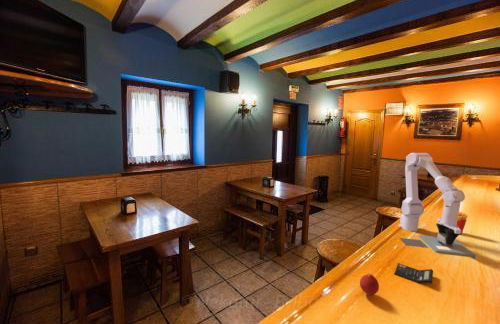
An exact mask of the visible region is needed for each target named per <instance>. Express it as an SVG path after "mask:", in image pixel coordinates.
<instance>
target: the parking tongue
mask: <svg viewBox="0 0 500 324" xmlns="http://www.w3.org/2000/svg"><path fill="white" fill-rule="evenodd" d="M398 239H399V240H400V241H401V242H402V243H403V244H404V245H405V246H409V247H419V248H424V249H426V248H427V249H429V246H428V245H427V244H426V243H425V242H424V241H423V240H421V239H415V238H404V237H398Z"/></svg>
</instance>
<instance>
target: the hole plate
mask: <svg viewBox="0 0 500 324" xmlns="http://www.w3.org/2000/svg"><path fill="white" fill-rule="evenodd" d="M418 238H419V240H421V241H422V242H423V243H424V244H425V245H426V246H427V247H428V248H430V249H431V250H432V251H434V252H435V253H438V254H447V255H456V256H463V257H470V258H471V259H474V260H475V259H476V257H477V254H476V253H474V252H473V251H471V250H470V249H469V248H467V247H466V246H464V245H463V244H462V243H460V242H459V241H457V240H456V241H455V244H452V245H450V244H449V246H443V245H442V244H441V243H442V242H441V241H440V240H439V239H437V236H431V235H424V234H419V235H418Z"/></svg>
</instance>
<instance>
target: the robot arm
mask: <svg viewBox="0 0 500 324" xmlns="http://www.w3.org/2000/svg"><path fill="white" fill-rule="evenodd" d="M433 159H434V158H433V157H432V156H431V155H430V154H429V153H427V152H411V153H409V154H408V155H406V157H405V161H406V162H405V167H404V168H405V169H404V170H405V172H404V173H405V174H404V176H405V194H406V197H405V199H404V200H403V201H402V204H401V205H402V206H401V212H402V214H401V215H400V220H399V221H400V223H399V224H398V225H397V226H398V227H400V228H402V229H403V230H405V231H408V232H412V233H414V232H417V231H418V230H419V229H418V228H419V221H420V217H421V216H422V215H423V214H424V212H425V208H424V206H423V201H422V200H420V198H419V185H418V170H419V169H420V168H421V167H422V168H425V170H426V171H427V172H428V173H429V174H430V176H431V177H433V179H434V184H435V186H436V187H437V188H438V189H439V191H440V192H441V194H442V196H441V197H442V200H443V209H442V215H441V217H437V220H436V221H437V222H438V223H437V222H436V223H435V225H436V227H437V230H438V233H446V244H450V245H452V244H453V242H454V240H455V239H457V238H458V237H459V236H461V235H462V234H461V230H460V229H459V227H458V226H457V220H458V214H459V212H460V207H461V203H462V202H463V201H464V200H465V198H466V197H465V193H464V191H463V190H462V189H461V190H460V189H459V188H457V186H455V185H454V184H453V183H452V181H451V179H450V177H447V176H444V175H443V174H442V173H441V171H440V170H439V169H438V167H437V166H436V164H435V163H434V160H433ZM449 229H450V230H449ZM460 234H461V235H460Z"/></svg>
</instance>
